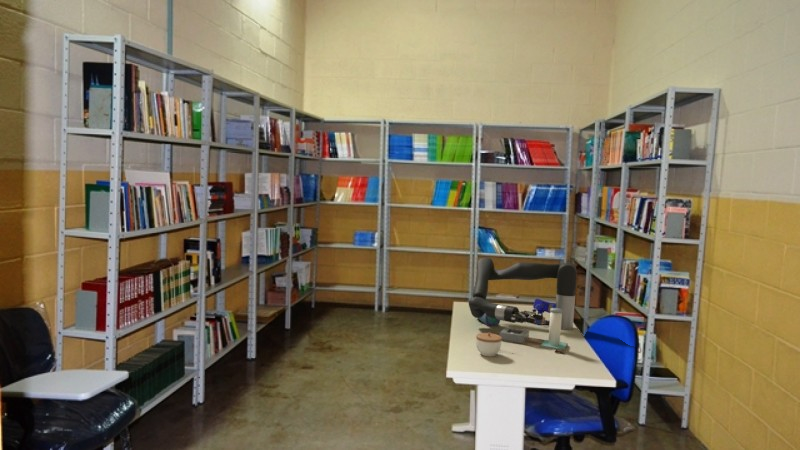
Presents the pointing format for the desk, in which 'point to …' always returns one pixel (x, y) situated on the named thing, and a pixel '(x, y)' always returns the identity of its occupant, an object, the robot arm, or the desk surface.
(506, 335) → the grey square socket
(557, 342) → the capped cream cylinder
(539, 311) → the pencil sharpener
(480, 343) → the lidded jar
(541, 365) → the desk surface
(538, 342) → the base board
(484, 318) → the pencil case
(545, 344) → the mat
